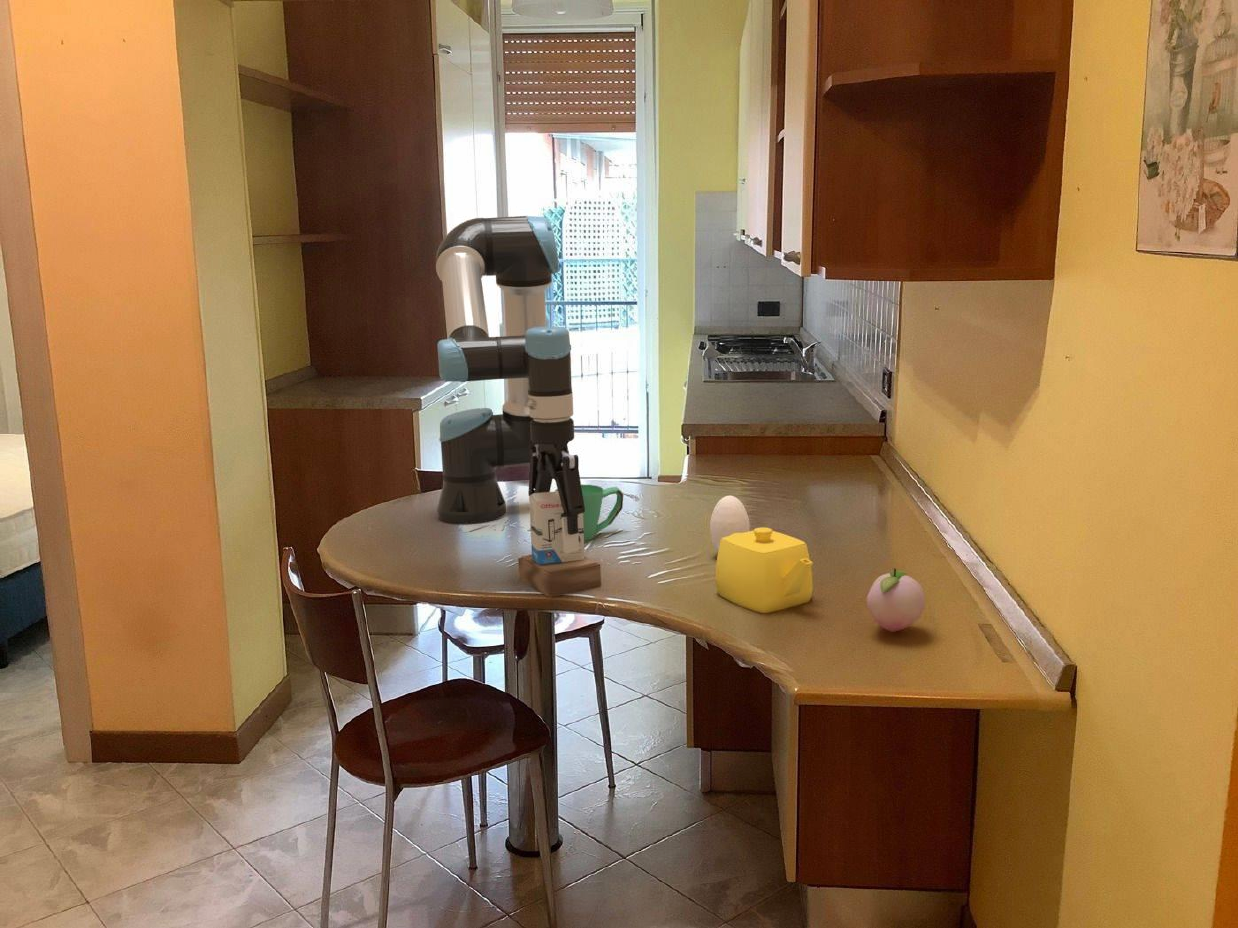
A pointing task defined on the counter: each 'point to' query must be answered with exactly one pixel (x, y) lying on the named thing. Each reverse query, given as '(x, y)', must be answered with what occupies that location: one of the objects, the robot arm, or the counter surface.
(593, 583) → the plinth
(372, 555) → the counter surface
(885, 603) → the decorative fruit
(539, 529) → the ink box
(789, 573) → the teapot
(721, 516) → the egg
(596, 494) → the mug
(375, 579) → the counter surface
